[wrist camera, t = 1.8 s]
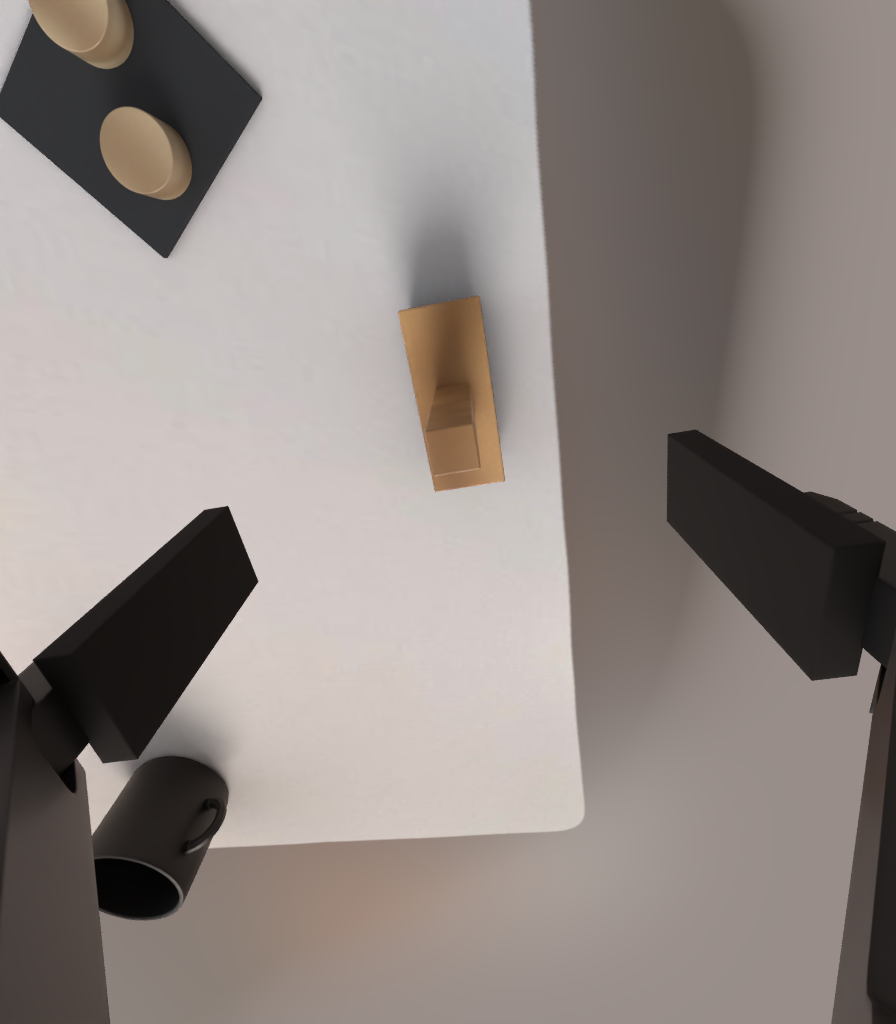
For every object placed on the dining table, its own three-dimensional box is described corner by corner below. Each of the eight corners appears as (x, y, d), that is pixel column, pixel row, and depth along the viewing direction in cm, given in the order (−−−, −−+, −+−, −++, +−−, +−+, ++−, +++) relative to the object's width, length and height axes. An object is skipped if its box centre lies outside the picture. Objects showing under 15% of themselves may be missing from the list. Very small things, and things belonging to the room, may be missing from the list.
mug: (269, 800, 49) (231, 903, 41) (172, 826, 51) (116, 929, 43) (217, 738, 45) (163, 838, 37) (114, 769, 47) (41, 870, 39)
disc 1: (78, -51, 23) (45, -81, 21) (147, 18, 24) (121, -4, 22) (46, 24, 24) (12, 3, 22) (114, 88, 25) (86, 72, 23)
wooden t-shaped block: (477, 294, 29) (488, 299, 17) (500, 461, 33) (521, 555, 22) (404, 308, 29) (368, 323, 18) (437, 471, 34) (425, 568, 22)
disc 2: (144, 100, 25) (119, 86, 23) (205, 158, 26) (186, 148, 24) (112, 163, 26) (86, 153, 24) (171, 216, 27) (151, 210, 25)
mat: (81, -87, 22) (75, -93, 22) (262, 98, 25) (259, 95, 25) (-1, 113, 26) (-8, 111, 25) (167, 258, 28) (163, 258, 28)
